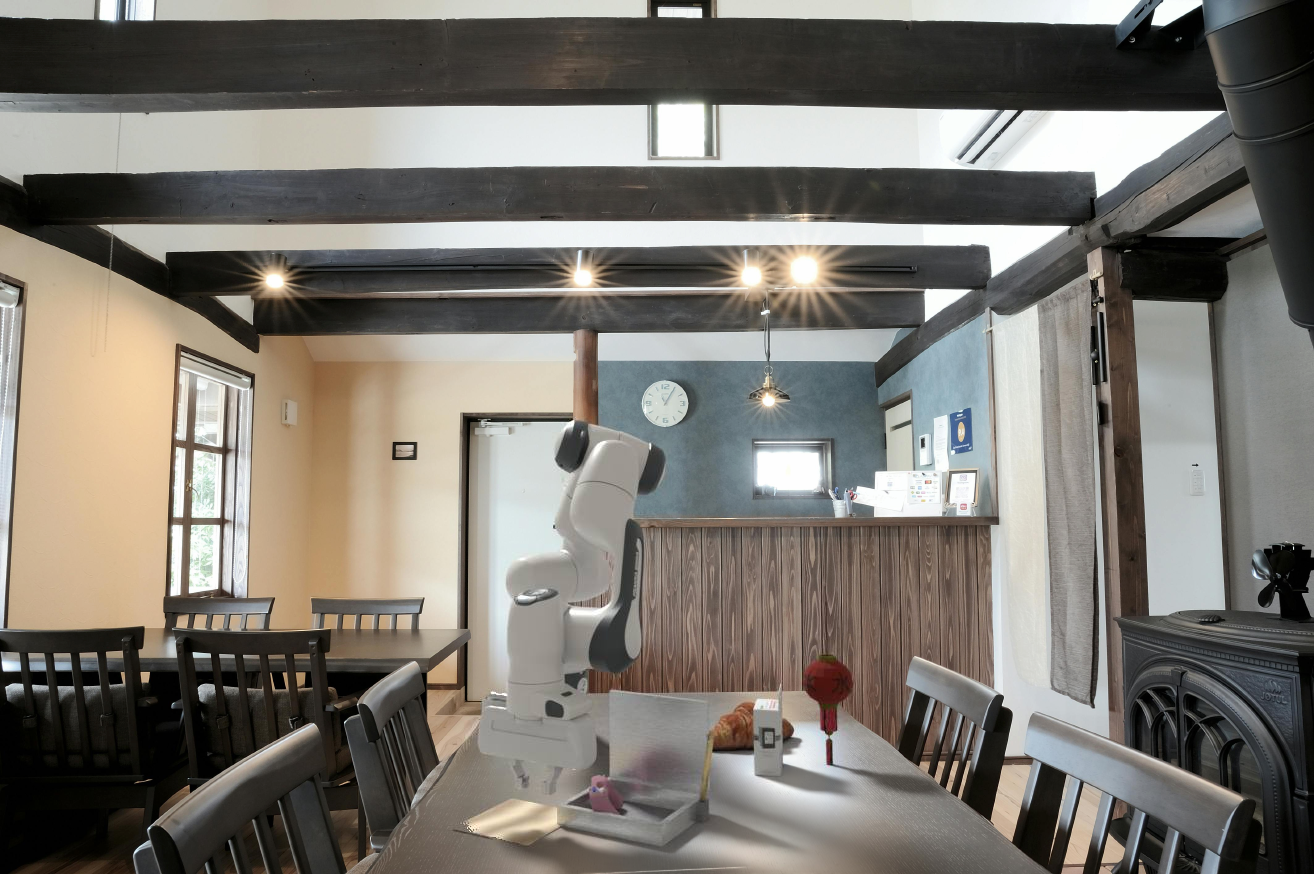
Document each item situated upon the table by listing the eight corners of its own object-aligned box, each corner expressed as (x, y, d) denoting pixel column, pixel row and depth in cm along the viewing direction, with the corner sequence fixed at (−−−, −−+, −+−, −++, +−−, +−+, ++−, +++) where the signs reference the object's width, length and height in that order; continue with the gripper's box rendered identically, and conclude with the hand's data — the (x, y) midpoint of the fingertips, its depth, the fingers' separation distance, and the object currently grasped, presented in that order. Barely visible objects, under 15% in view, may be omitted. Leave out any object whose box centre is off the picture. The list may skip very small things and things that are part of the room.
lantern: (794, 759, 158) (791, 600, 161) (835, 753, 162) (832, 597, 164) (823, 774, 150) (819, 605, 152) (866, 767, 153) (861, 602, 156)
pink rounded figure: (597, 814, 133) (585, 771, 133) (625, 805, 133) (612, 762, 134) (595, 839, 123) (582, 793, 124) (625, 829, 123) (611, 783, 124)
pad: (452, 832, 124) (452, 827, 124) (511, 802, 137) (511, 797, 137) (527, 851, 118) (527, 845, 118) (582, 817, 130) (582, 812, 130)
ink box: (757, 761, 158) (756, 681, 159) (783, 762, 157) (782, 682, 158) (753, 775, 150) (752, 691, 151) (781, 777, 149) (779, 692, 150)
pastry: (776, 758, 160) (775, 716, 161) (700, 750, 166) (700, 709, 166) (795, 735, 176) (794, 697, 176) (725, 728, 181) (725, 691, 182)
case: (557, 828, 126) (557, 710, 127) (612, 795, 140) (612, 689, 141) (669, 853, 116) (668, 725, 118) (717, 815, 130) (715, 701, 132)
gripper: (469, 694, 129) (468, 786, 128) (578, 709, 120) (578, 808, 119) (495, 686, 135) (495, 774, 134) (602, 700, 125) (602, 794, 124)
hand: (535, 790), depth 126 cm, fingers open, 4 cm apart
